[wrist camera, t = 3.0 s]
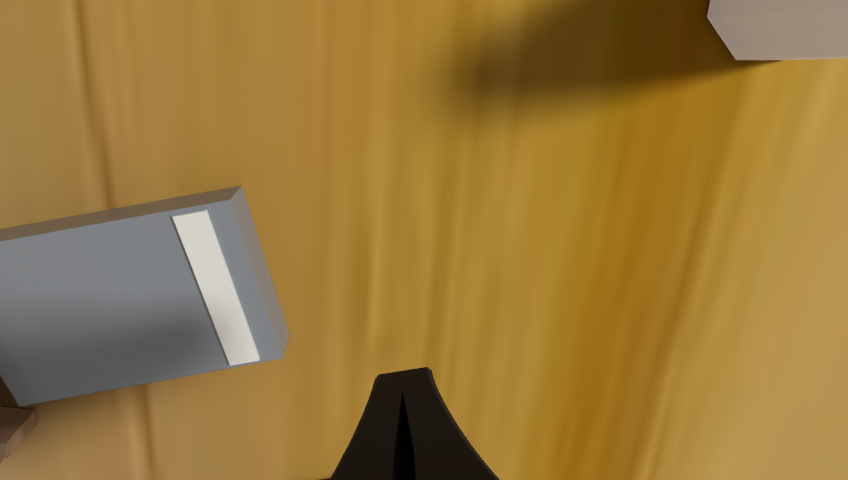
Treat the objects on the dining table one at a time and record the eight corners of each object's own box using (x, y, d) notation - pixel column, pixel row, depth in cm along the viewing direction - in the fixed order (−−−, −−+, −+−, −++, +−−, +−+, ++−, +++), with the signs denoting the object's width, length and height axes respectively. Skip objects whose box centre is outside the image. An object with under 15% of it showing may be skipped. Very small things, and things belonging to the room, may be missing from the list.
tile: (244, 182, 21) (228, 201, 18) (291, 328, 23) (282, 360, 21) (-29, 231, 20) (-78, 256, 18) (50, 373, 23) (17, 409, 21)
